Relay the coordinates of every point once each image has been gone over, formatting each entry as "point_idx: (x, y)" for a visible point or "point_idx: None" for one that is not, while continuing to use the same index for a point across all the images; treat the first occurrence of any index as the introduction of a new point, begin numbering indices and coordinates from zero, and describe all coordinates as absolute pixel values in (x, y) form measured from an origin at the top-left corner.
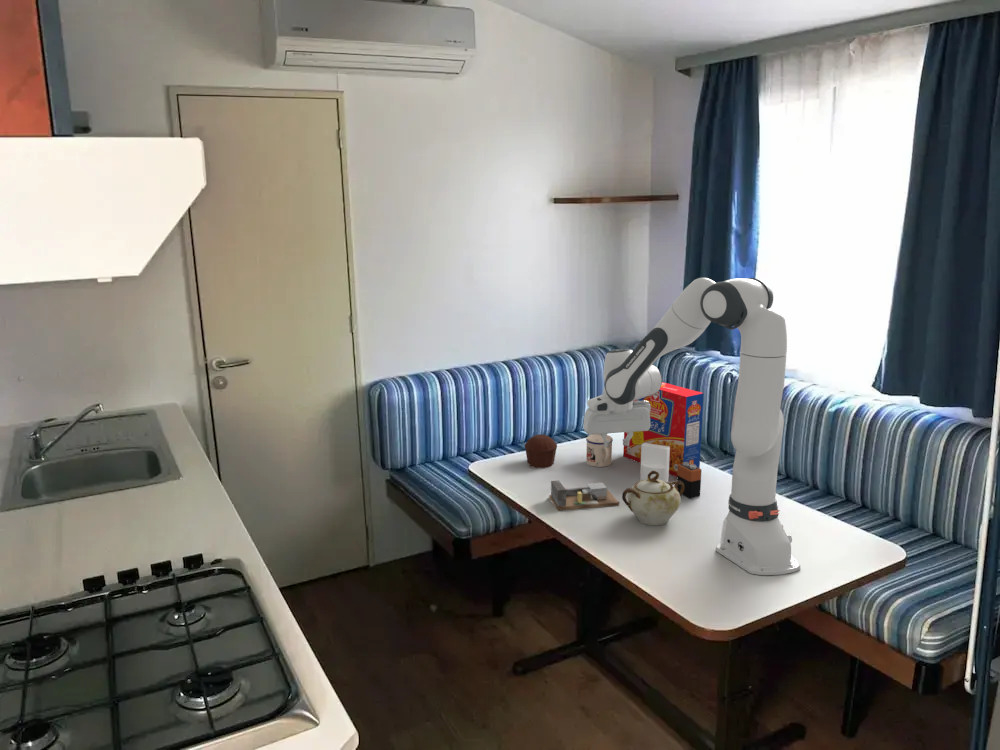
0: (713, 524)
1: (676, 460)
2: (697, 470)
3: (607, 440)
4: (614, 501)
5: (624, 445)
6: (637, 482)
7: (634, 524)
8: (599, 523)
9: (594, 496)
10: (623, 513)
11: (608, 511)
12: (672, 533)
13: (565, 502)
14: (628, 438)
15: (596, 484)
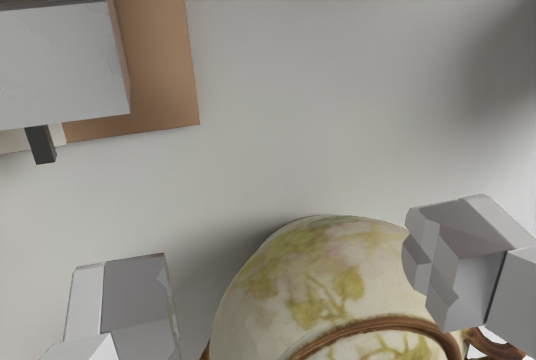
0: None
1: None
2: None
3: (141, 345)
4: (175, 110)
5: (405, 266)
6: (299, 358)
7: (217, 303)
8: (61, 302)
9: (34, 139)
10: (198, 208)
11: (123, 186)
12: None
13: None
14: (523, 350)
15: (48, 38)
